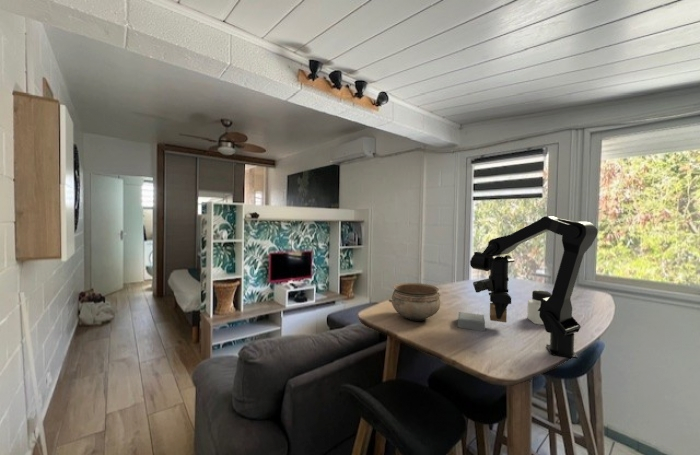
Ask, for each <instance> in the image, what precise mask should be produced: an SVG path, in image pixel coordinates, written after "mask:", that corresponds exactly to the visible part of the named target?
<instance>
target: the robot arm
mask: <svg viewBox="0 0 700 455" xmlns="http://www.w3.org/2000/svg"><path fill="white" fill-rule="evenodd" d="M549 231H550V232H552V233H554V234H556V235H559V236H561V243H562V248H563V253H562V258H561V260H560V264H559V268H558V270H557V273H556V278H555V281H554V285H553V289H552V292H551V296H550V297H548V298H543V299H542V300H541V305H540V308H539V309H538V311H540V314H539V316H540V318H541V320H542V321H543V323H544V325H543V326H544V329H545V332H546V333H548V334H550V337H549V344H547V343H546V345H545V347H546V348H547V350H548V351H549V354H551V356H559V357H565V358H572V359H579V356H578V355H577V353H576V352H575V351H574V350H575V334H576V333H579V331H580V329H581V328H582V326H581V325H580V323H579V322H578V321H577V320H576V319H575V318H574V316H573V306H572V299H571V298H572V294H573V291H574V288H575V284H576V281H577V278H578V275H579V271H580V268H581V265H582V261H583V258H584V255H585V253H587V251H588V250H589V249H590V248H591V246H592V245H593V243H594V242H595V240H596V237H597V236H598V232H599V231H598V228H597V227H596V226H595V225H594V224H593V223H592V222H589V221H573V220H567V219H562V218H559V217H557V216H551V215H550V216H548V215H547V216H542V217H541V218H539V219H538V220H537V221H534V222H532V223H530V224H528V225H526V226H525V227H523V228H521V229H518V230H516V231H515V232H513V233H509V234H507V235H504V236H499V237H495V238H492V239H490V240H489V241H488V242H487V243H488V244H487V246H486V247H485V249H484V250H483V252H481V251H474V252H473V255H472V256H471V258H470V261H469V263H470V267H471V268H472V269H474V270H479V271H483V272H489V275H488V278H484V279H481V280H476V281H475V280H474V281H473V282H472V285H473V287H474V291H475V293H480V292H483V291H484V292H485V291H487V292H488V295H489V300H490V301H489V302H490V303H493V304H494V305H495V311H496V316H497V319H501V317H502V315H503V313H504V311H505V309H506V308H507V309H508V306H509V305H512V296H511V295H510V294H509V287H508V286H509V285H508V284H509V279H510V278H509V264H510V263H515V259H514V258H513V257H511V255H508V254H510V253H512V252H513V251H514V250H516V249H517V247H518V246H520V245H521V244H523V243H525V242H527V241H530V240H532V239H535V238H536V237H538V236H540V235H542V234H544V233H547V232H549ZM502 255H504V256H502Z"/></svg>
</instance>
